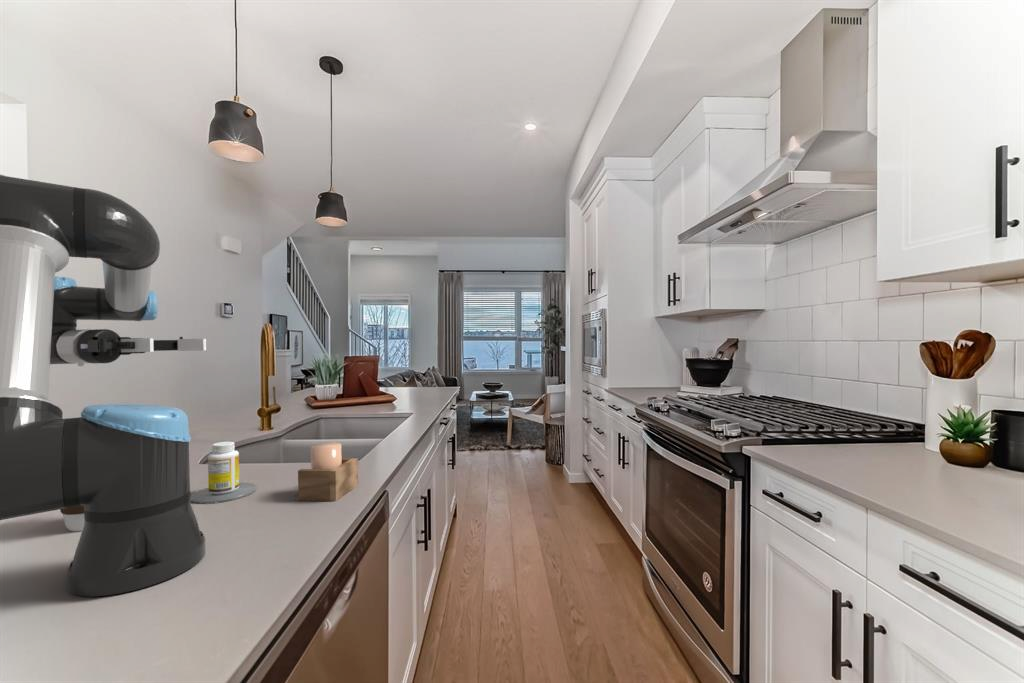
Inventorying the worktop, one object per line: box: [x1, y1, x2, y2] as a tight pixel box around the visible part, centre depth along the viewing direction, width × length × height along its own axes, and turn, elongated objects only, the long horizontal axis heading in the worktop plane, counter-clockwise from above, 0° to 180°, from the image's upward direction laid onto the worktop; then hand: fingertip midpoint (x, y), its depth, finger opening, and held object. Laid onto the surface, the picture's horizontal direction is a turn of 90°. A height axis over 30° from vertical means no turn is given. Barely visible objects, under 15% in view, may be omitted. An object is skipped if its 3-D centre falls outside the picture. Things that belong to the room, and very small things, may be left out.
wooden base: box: [293, 457, 359, 502], centre depth 96 cm, size 10×9×6 cm
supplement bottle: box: [207, 441, 240, 495], centre depth 96 cm, size 6×6×10 cm
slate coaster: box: [190, 482, 258, 504], centre depth 96 cm, size 12×12×1 cm
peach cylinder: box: [310, 441, 343, 469], centre depth 96 cm, size 6×6×10 cm
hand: (180, 344), depth 98 cm, fingers open, 13 cm apart
